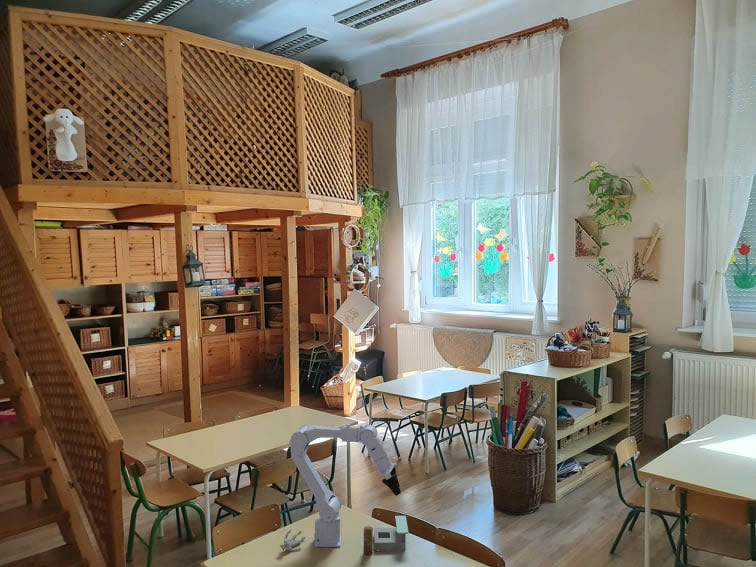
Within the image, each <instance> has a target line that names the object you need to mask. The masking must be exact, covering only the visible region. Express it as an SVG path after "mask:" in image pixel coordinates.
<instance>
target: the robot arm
mask: <svg viewBox="0 0 756 567" xmlns="http://www.w3.org/2000/svg"><path fill="white" fill-rule="evenodd" d="M378 433H379V432H378V429H377V427H375V425H372V424H366V425H363V424H361V425H360V426H359V425H351V423H347V424H346V425H343V426H342V427H340V428H339V427H338V428H337V427H331V426H324V425H323V426H321V425H314V424H309V425H308V424H304V425H301V426H300V427H299V428H298V429H297V430H296V431H295V432H294V433H293V434H292V435H291V437H290V440H289V442H288V443H289V445H290V458H291V459H292V461H293V463H294V465H295V467H296V468H297V469H298V471H299V473H300V474H301V476H302V478H303V479H304V480H305V483H306V484H307V486H308V488H309V489H310V491H311V493H312V494H313V496H314V498H315V504H316V506H315V507H316V508H317V511H318V515H319V516H318V517H316V518H315V520H314V521H315V522H314V535H313V536H314V537H313V538H314V547H316V548H317V547H318V548H319V547H320V548H324V547H325V548H327V547H328V548H330V547H331V548H332V547H334V548H335V547H341V545H342V535H341V515H340V513H339V511H340V510H341V509H342V506H343V505H342V501H341V498H340V497H338V496H337V495H336V494H335V492H333V490H330V489H328V487H327V486H326V484H325V482H324V481H323V479H322V478H321V476H320V473H319V472H318V470H317V469H316V468H315V465H314V464H313V462H312V461H311V459H310V457H309V456H308V454H307V452H308V450H309V445H310V444H311V443H312V442H314V441H316V440H317V439H319V438H320V439H321V438H325V439H326V438H327V439H328V438H330V439H333V438H335V439H340V440H341V441H342V442H346V443H347V442H348V443H361V444H362V445H363V446H365V447H366V449H367V452H368V454H369V455H370V457H371V459H372V461H373V463H374V465H375V467H376V469H377V471H378V474H379V475H380V476H383V477H384V478H383V479H381V481H382V483H383V485H385V486H387V487H388V488H389V489H390V491H391V492H392V494H394V496H395V497H396V496H399V495H400V494H401V493H402V491H401V488H400V487H401V486H400V481H399V479H398V477H397V476H398V475H397V471H396V466H397V462H392V460H391V458H390V456H389V454H388V452H387V451H386V448H385V447H384V445H383V443H382V441H381V439H380V437H379V436H378Z"/></svg>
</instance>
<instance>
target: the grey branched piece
mask: <svg viewBox="0 0 756 567" xmlns="http://www.w3.org/2000/svg"><path fill="white" fill-rule="evenodd" d="M291 532H292V529H290V530H288V532H287V533H286V534H285V536H284V539H283V544H280V545H279V546H280V548H281V550H282V551H283V552H284V551H285V550H288V551H290V552H297V551H300V550H302V549H303V548H302V547H301V546H300V547H298V548H294V547H296V546H298V545H299V544H301V543H302V541H304V540H305V539H306V536H302V537H301V538H300V539H298V540H296V538H297V537H298V536H299V535H300V534H302V530H300V531H298V532H297V533H295V534H294V535H292V537H291V538H289V539H288V536H289V534H291Z"/></svg>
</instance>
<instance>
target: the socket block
mask: <svg viewBox="0 0 756 567" xmlns="http://www.w3.org/2000/svg"><path fill="white" fill-rule="evenodd" d="M394 517H395V526H396V527H373V533H374V534H373V535H374V536H373V538H374V541H373V543H374V551H375V550H394V551H393V552H396V551H395V550H397V552H398V551H399V552H400V551H401V552H402V551H404V552H405V551H406V541H407V540H406V536H407V535H409V528H408V522H407V516H406V515H395V516H394Z"/></svg>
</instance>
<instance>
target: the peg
mask: <svg viewBox="0 0 756 567" xmlns="http://www.w3.org/2000/svg"><path fill="white" fill-rule="evenodd" d="M373 533H374V527H372V526H370V525H367V526H364V527H363V555H365V556H371V555H373V543H374V541H373V538H374V536H373V535H374V534H373Z"/></svg>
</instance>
